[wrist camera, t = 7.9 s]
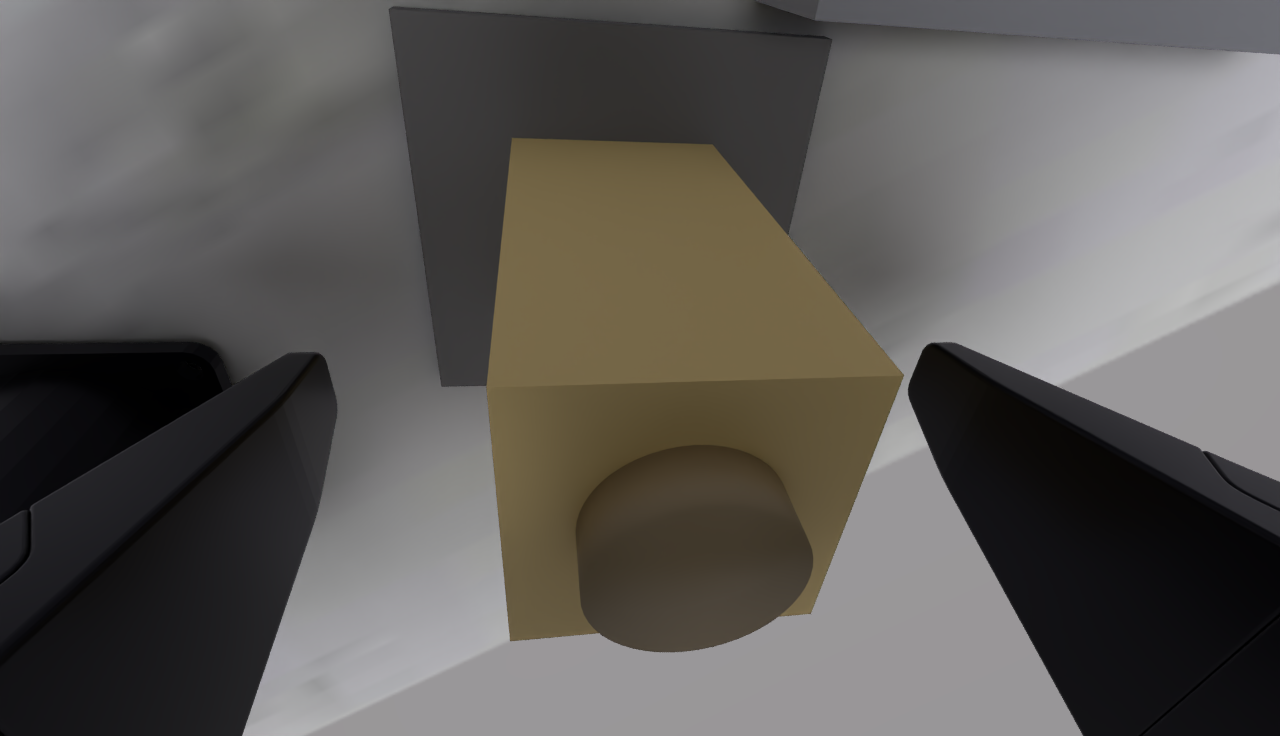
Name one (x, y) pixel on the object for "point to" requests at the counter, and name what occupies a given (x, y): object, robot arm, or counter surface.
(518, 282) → the plug
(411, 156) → the pad
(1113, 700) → the robot arm
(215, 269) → the counter surface
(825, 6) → the socket block
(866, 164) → the counter surface
